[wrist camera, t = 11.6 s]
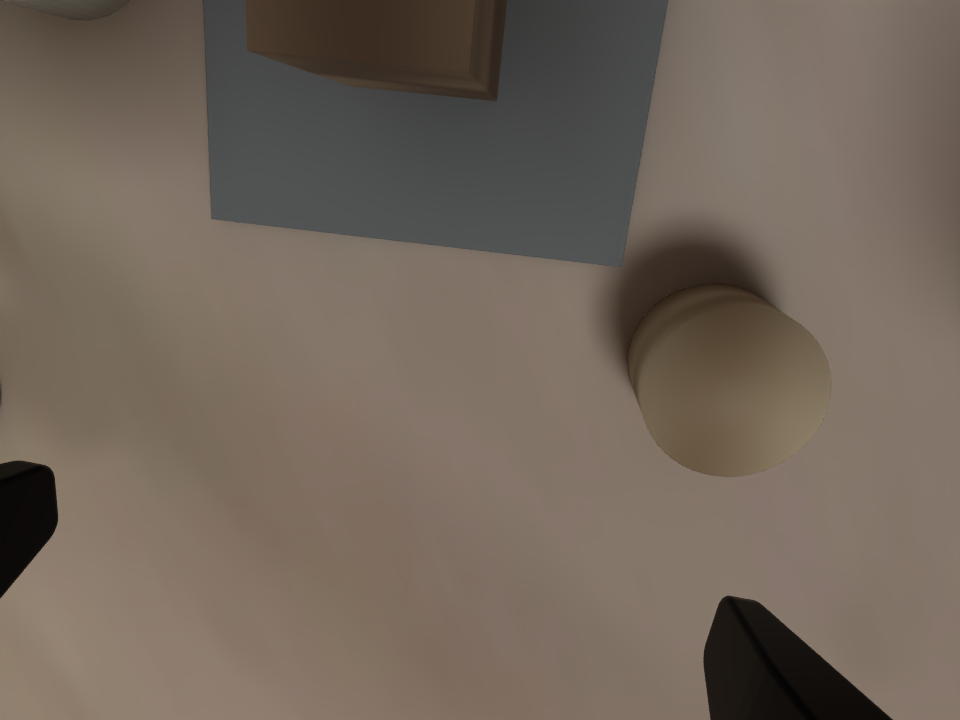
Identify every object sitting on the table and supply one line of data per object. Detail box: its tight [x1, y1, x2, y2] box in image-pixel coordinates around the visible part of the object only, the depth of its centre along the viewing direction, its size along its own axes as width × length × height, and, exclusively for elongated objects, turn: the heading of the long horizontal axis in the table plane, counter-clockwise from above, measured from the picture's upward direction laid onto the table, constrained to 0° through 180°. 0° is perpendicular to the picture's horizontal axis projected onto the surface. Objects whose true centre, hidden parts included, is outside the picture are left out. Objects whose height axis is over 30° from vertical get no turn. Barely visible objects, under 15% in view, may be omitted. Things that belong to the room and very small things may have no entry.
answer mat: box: [203, 0, 668, 267], centre depth 16 cm, size 12×12×1 cm
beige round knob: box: [628, 283, 831, 477], centre depth 17 cm, size 5×5×3 cm
